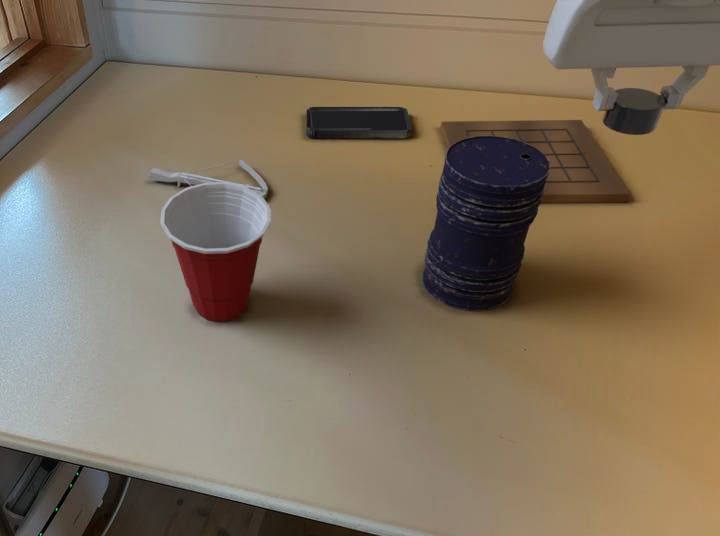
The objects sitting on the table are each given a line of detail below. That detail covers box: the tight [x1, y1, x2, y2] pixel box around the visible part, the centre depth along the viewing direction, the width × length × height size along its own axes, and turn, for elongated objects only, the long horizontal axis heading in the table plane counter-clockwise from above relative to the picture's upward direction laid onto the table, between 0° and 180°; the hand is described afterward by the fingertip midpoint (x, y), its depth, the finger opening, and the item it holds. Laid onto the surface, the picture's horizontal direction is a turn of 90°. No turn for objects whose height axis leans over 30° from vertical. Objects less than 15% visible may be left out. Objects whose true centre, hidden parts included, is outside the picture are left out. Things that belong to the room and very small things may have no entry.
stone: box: [601, 87, 666, 136], centre depth 71 cm, size 5×5×3 cm
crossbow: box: [149, 159, 269, 201], centre depth 93 cm, size 16×13×2 cm
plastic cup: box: [160, 182, 272, 323], centre depth 73 cm, size 11×11×12 cm
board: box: [439, 119, 632, 204], centre depth 96 cm, size 20×20×1 cm
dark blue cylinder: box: [422, 136, 550, 312], centre depth 73 cm, size 10×10×15 cm
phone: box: [305, 106, 412, 139], centre depth 105 cm, size 8×1×15 cm
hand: (633, 107), depth 71 cm, fingers closed on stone, 5 cm apart
